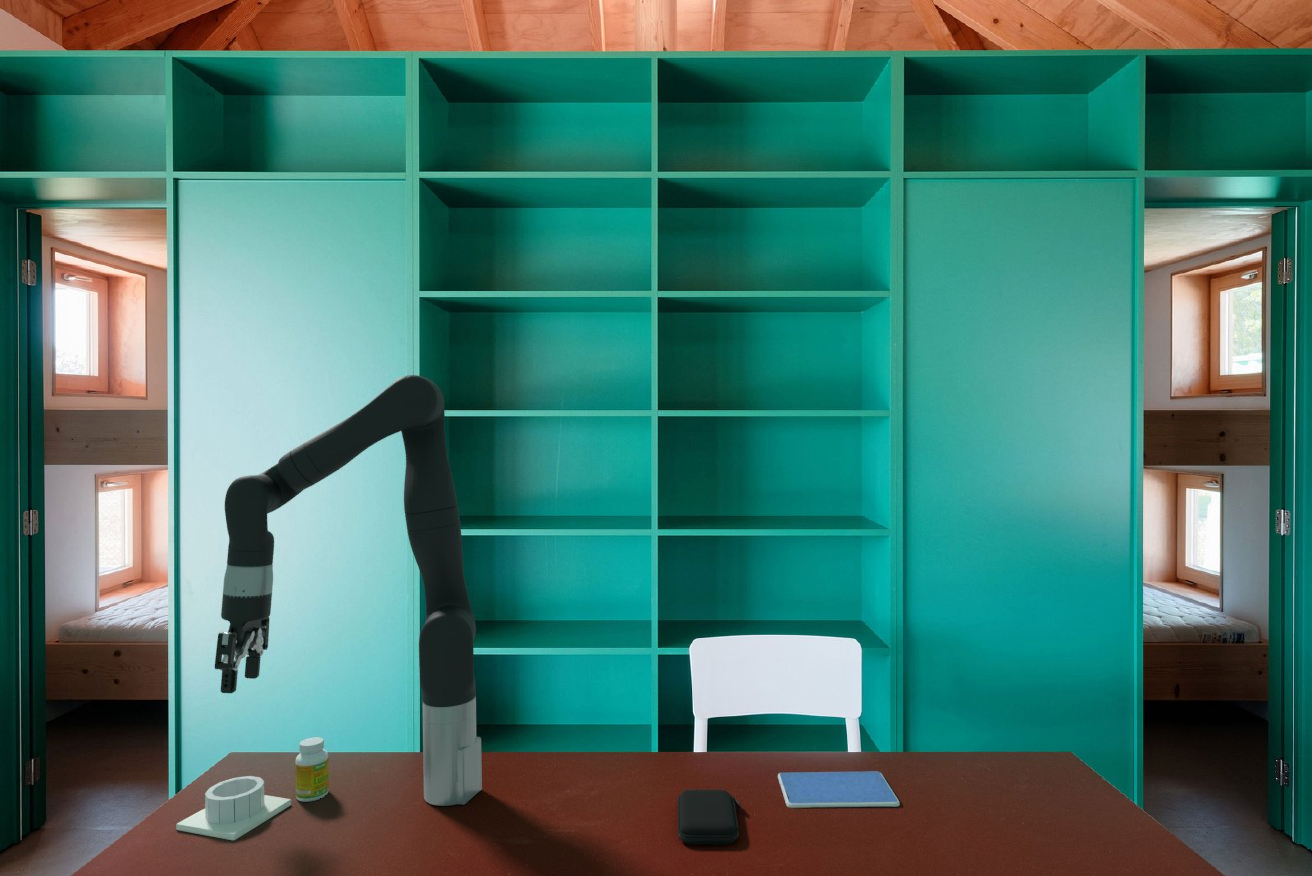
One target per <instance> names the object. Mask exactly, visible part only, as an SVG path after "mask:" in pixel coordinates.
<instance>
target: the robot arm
mask: <svg viewBox="0 0 1312 876" xmlns="http://www.w3.org/2000/svg"><path fill="white" fill-rule="evenodd" d="M445 412H446V411H445V397H444V395H443V392H442V390H441V388H440V387H439V386H438V385H437V383H435V382H434V381H432V380H431V379H430V378H427V377H424V376H421V375H416V374H406V375H404V376H401V377H399V378H398V379H397V378H396V379H395V380H394V382H392V383H391V384H390V385H389V386H387V387H386V388H385V389H384V390H383V391H381V392H380V393H379V394H378V395H377V396H376V397H375V398H373V399H372V400H370V402H368V403H367V404H366V405H364V406H363V407H361V408H360V409H359V410H357V411H356V412H355V413H353V414H351V415H350V416H349V417H347V418H345V419H344V420H342V421H341V422H339V423H338V424H336V425H334V426H331V427H330V428H329V429H326V430H324V431H322V432H321V433H319V434H317V435H316V436H314V437H312V438H310V439H309V440H307V441H305V442H303V443H302V444H300V445H299V446H296V447H294V448H293V449H291V450H290V451H288V452H287V453H285V454H284V455H282V456H281V457H280V458H279V460H278V462H277V463H276V464H275V465H273V466H271V467H270V468H268V469H267V470H265V471H263V472H261V473H259V474H254V475H253V474H252V475H251V474H250V475H243V476H242V475H241V476H240V477H238V478H236V479H235V480H233V481H232V482H231V483H230V485H229V486H228V488H227V490H226V492H225V493H226V494H225V499H224V514H225V523H226V530H227V534H228V547H227V548H228V549H227V556H226V557H227V559H226V569H225V573H224V577H223V589H222V598H221V612H220V617H221V619H222V620H224V621H228V622H229V627H228V631H220V632H218V634H217V641H216V651H215V660H214V670H219V671H221V679H220V681H221V682H220V692H221V693H222V694H233V693H235V692H236V691H237V686H238V673H239V670H238V669H239V665H240V663H241V660H242V659H244V658H245V666H244V667H245V668H244V678H245V679H250V680H251V679H253V680H256V679H257V678H258V677H260V671H261V670H260V669H261V658H262V656H263V655H264V650H265V651H266V650H268V648H269V638H270V637H269V636H270V635H269V634H270V617H271V612H272V611H271V610H272V601H273V600H272V599H273V585H274V569H273V567H274V566H273V565H274V563H273V562H274V553H275V552H274V550H275V537H274V534H273V533H272V532H271V531H270V530H269V529H268V514H270V513H272V512H274V511H276V510H278V509H280V508H281V507H283V506H285V505H286V504H288V503H289V502H290V501H291V500H293V499H294V498H295V497H297V496H298V495H299V494H300V493H302V492H303V491H305V490H306V489H308V488H310V487H312V486H314V485H316V484H317V483H319V482H321V481H322V480H325V479H326V478H327V477H330V476H331V475H332V474H335V473H336V472H337V471H339V470H341V469H342V468H343V467H345V466H346V465H347V464H348V463H350V462H352V461H353V460H354V459H355V458H356V457H358V456H359V455H360V454H361V453H363V452H364V451H366V450H367V449H369V448H370V447H371V446H373V445H375V444H377V443H379V442H380V441H382V440H384V439H386V438H387V437H390V436H392V435H395V434H397V433H400V432H401V436H402V441H403V445H404V452H405V473H404V484H403V485H404V487H403V488H404V489H403V511H404V516H405V524H406V531H407V536H408V541H409V544H410V548H411V551H412V554H413V556H414V559H415V563H416V564H417V567H418V569H419V572H420V575H421V579H422V582H423V589H424V599H425V600H424V601H425V623H424V624H423V626H422V628H421V629H420V633H419V637H418V638H419V639H418V658H419V659H418V660H419V661H418V662H419V663H418V665H419V684H420V689H421V694H422V696H421V698H422V699H421V700H422V752H423V753H422V758H423V761H422V762H423V765H422V766H423V770H422V771H423V798H424V801H425V802H426V803H428V804H430V805H433V806H439V807H440V806H441V807H446V806H447V807H449V806H454V805H465V804H467V803H468V802H469V801H470V800H471V799H473V798H474V796H476V795H477V794H478V793H479V792H481V790H482V789H483V784H482V783H483V782H482V781H483V777H482V775H483V774H482V772H483V771H482V738H481V736H477V699H476V698H477V697H476V695H477V691H476V688H477V686H476V678H475V664H474V663H475V662H474V659H475V657H474V656H475V655H474V640H475V639H476V638H475V637H476V633H477V624H476V620H475V616H474V613H473V609H472V606H471V601H470V598H469V594H468V593H469V592H468V590H467V585H466V579H465V573H464V553H463V552H464V551H463V540H462V539H463V537H462V529H461V527H462V526H461V520H460V512H459V506H458V504H459V503H458V501H457V500H458V498H457V495H456V489H455V485H454V484H455V483H454V479H453V472H452V470H451V465H450V461H449V457H448V452H447V444H446V443H447V442H446V441H447V439H446V427H445V426H446V425H445V414H446V413H445Z"/></svg>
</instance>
